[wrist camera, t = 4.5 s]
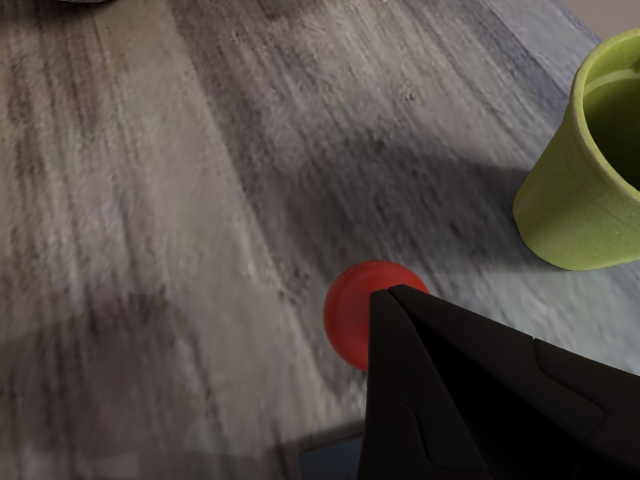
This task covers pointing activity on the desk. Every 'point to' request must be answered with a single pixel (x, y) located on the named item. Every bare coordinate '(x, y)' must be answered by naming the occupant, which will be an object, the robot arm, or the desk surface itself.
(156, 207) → the desk surface
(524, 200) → the plant pot
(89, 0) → the bowl
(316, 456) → the dark grey lever stand
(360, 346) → the red-knobbed lever handle
